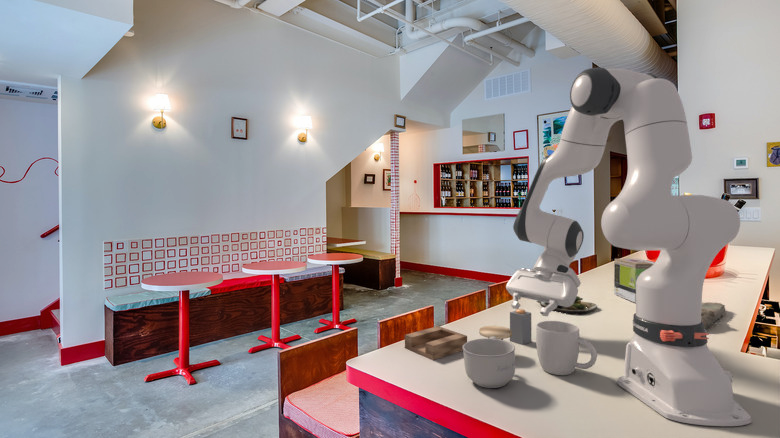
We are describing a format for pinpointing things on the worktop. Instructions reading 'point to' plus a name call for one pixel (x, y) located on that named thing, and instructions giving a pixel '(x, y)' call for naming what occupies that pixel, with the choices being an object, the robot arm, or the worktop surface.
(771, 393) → the worktop surface
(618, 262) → the tea box
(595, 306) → the salad plate
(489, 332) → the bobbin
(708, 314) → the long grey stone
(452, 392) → the worktop surface
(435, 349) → the notch board
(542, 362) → the mug
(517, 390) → the worktop surface
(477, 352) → the teacup
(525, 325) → the grey knobbed block
